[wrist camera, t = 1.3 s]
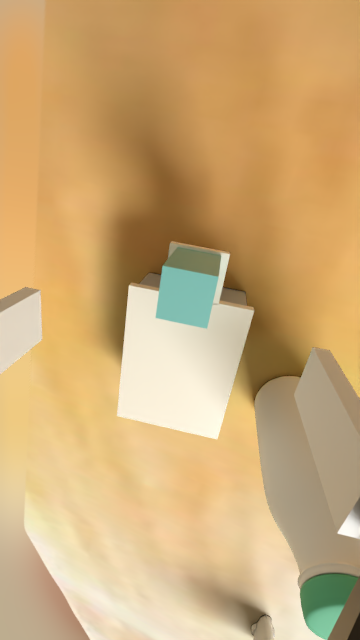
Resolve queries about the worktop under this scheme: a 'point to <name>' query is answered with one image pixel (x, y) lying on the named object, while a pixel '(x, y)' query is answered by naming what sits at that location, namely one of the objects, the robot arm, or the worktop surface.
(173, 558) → the worktop surface
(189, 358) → the lid
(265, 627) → the tall pale column
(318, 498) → the milk bottle
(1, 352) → the robot arm
